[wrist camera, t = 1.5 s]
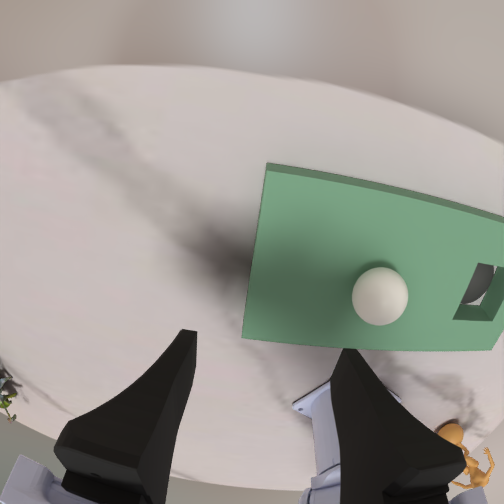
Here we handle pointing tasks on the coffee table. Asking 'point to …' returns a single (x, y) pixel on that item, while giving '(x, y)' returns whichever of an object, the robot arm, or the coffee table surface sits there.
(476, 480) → the figurine
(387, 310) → the ball
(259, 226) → the putting mat
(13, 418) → the passion flower
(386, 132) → the coffee table surface
